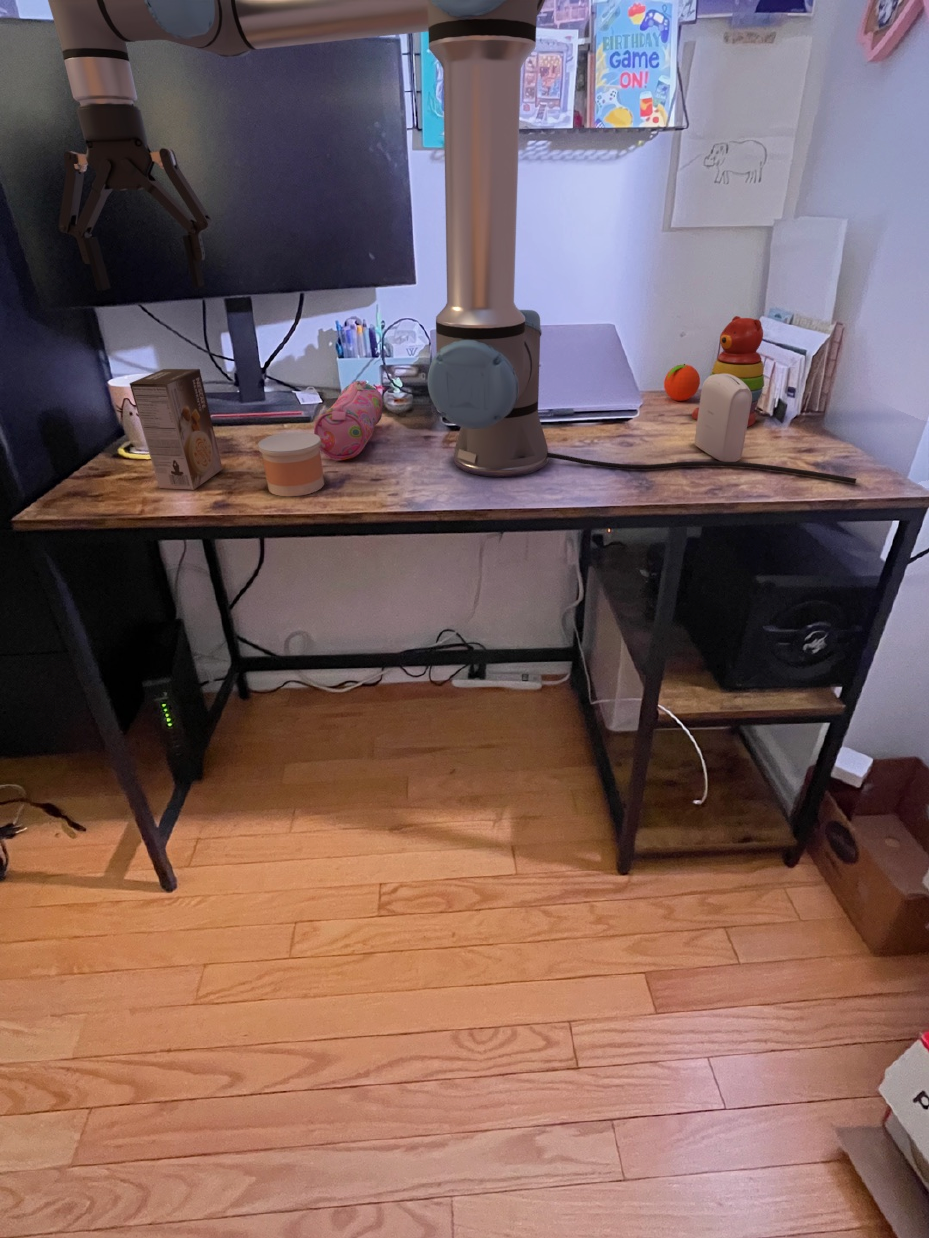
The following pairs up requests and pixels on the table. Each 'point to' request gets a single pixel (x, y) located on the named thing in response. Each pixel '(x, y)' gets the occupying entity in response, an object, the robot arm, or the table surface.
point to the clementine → (681, 382)
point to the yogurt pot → (292, 463)
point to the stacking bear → (742, 357)
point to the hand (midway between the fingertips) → (151, 288)
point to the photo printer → (723, 417)
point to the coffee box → (177, 427)
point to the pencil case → (349, 421)
